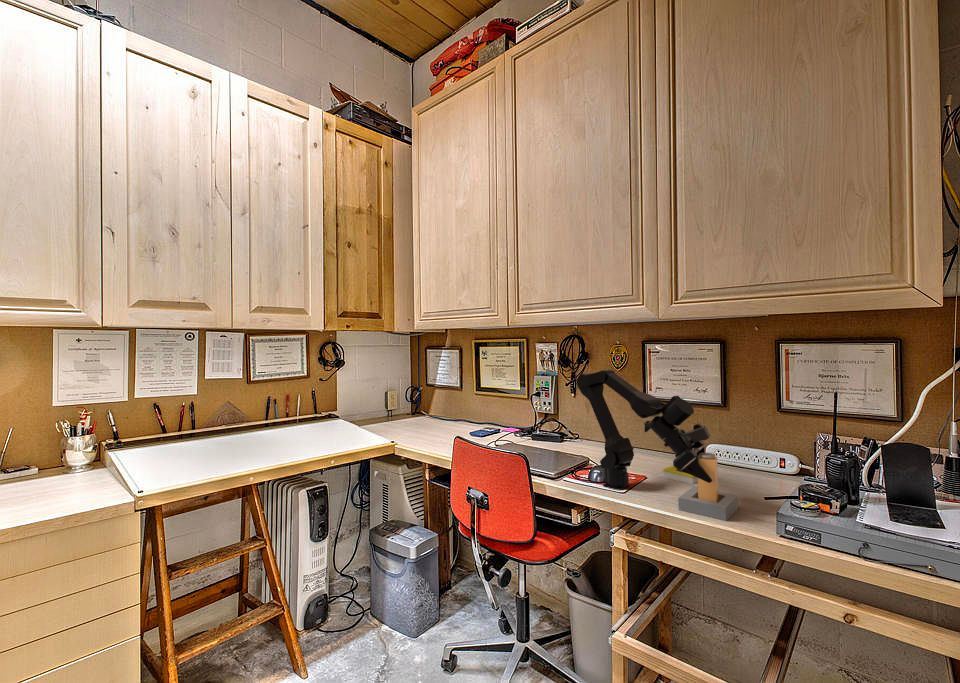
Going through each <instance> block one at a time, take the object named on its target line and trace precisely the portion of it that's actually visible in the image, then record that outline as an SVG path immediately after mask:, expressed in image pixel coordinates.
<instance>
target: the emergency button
mask: <svg viewBox="0 0 960 683" xmlns="http://www.w3.org/2000/svg"><path fill="white" fill-rule="evenodd" d="M683 468H684V467H683ZM681 470H682V469H680V470H679V471H678V470H677V469H676V468H675V467H674V466H673V465H671V466H667V467H664V468H663V469H662V472H661V473H658V474H657V476H658V477H661V478H664V479H668V478H669V479H670V480H672V479H673V480H674V481H678V482H681V483H685V484H689V485H694V486H698V478H697V477H695V476H693V475H690V474H688V473H685V472H682V471H681ZM669 479H668V480H669Z"/></svg>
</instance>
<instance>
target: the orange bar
mask: <svg viewBox="0 0 960 683" xmlns="http://www.w3.org/2000/svg"><path fill="white" fill-rule="evenodd" d="M699 463H700V464H701V466H702V467H703V468H704V470H705V471H706V472H707V474H708V475H709V476H710V478H711V479H712V482H711V483H708V482H706V481H704V480H702V479H699V478H698V485H697V487H698V499H702V500H707V501H712V502H717V503H718V502H719V501H718V492H719V475H718V474H719V473H718V472H719V471H718V457H717V456H716V454H715V453H712V452H705V453H699Z"/></svg>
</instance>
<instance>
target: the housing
mask: <svg viewBox="0 0 960 683" xmlns="http://www.w3.org/2000/svg"><path fill="white" fill-rule="evenodd" d="M677 498H678V499H677V501H678V511H681V512H685V513H690V514H694V515H697V516H698V515H699V516H702V515H703V517H706V516H707V517H708V518H711V517H712V518H711V519H715V518H716V520H719V521H724V522H726V521H727V520H728V519H729V518H730V517H732V515H733V514H734V513H735V512H736V511H737V510H738V509H739V495H738V494H733V493H728V492H723V491H718V501H719V502H718V503H717V502H712V501H707V500H702V499H698V486H697V487H696V486H692V487H691V488H689V489H688V490H686V491H685V492H684V493H683V494H681V495H679V496H678V497H677Z"/></svg>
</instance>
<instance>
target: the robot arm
mask: <svg viewBox="0 0 960 683" xmlns="http://www.w3.org/2000/svg"><path fill="white" fill-rule="evenodd" d="M604 385H606V386H608V387H609V388H611V390H613V391H614V392H615V393H617V394H618V395H619V396H620V397H622V399H624V400H626V401H627V402H628V403H629V405H630V408H631V410H632V411H633V412H634V413H635V414H636V415H637V416H638V417H639V418H641V419H647V418H652V419H650V420H646V421H645V422H644V423H643V424H644V432H645V433H647V432H649V431H650V430H652V431H653V433H655V435H656V436H657V437H659V439H660V440H661V441H662V442H663V443H664V444H663V445H664V447H666V448H669V449H670V450H671V451H672V452H673V453H675V455H674V456H675V458H674V459H673V461H672V463H673V464H672V466H674V467H675V468H676V469H677V470H678V471H679V470H680V469H682V470H681V471H682V472H685V473H688V474H690V475H693V476H695V477H697V478H699V479H702V480H704V481H706V482H708V483H711V482H712V479H711V478H710V476H709V475H708V474H707V472H706V471H705V470H704V468H703V467H702V466H701V464H700V463H699V453H706V448H707V447H706V442H705V441H706V440H709V439H710V437H711V434H710V433H709V432H710V431H709V429H708V427H707V426H706V425H702V424H701V423H700V422H698V423H696V424H694V425H693V429H690V430H689V431H686V430H685V429H682V428H679V426H680V425H681V426H682V424H683V423H684V422H685V421H686V420H688V419H689V418H690V417H691V416H692V415H694V414H695V413H694V412H695V410H694V407H693V405H692V404H691V403H689V402H688V401H687V400H685V399H683V398H681V397H680V396H679V395H673V396H672V397H671V398H670V399H669V401H668V402H667V403H666V402H665V403H664V402H662V401H661V400H660V398H657V397H655V396H653V395H652V394H649V393H645V392H642V390H641V391H640V390H638V388H636V387H635V386H634V385H632V384H631V383H629V382H628V381H626V379H624V378H622V377H621V376H620V375H618V374H617V373H616V372H615V371H614V370H612V369H602V370H600V371H597V372H590V373H588V372H587V373H581V374H579V375H578V376H577V379H576V386H577V387H578V389H579V391H580V393H581V395H583V396H584V397H585V398H586V399H588V400H587V401H589V403H590V406H591V408H592V411H593V413H594V416H595V418H596V420H597V423H598V424H599V427H600V430H601V432H602V435H603V437H604V440H605V441H604V452H605V455H604V456H603V457H602V458H601V460H599V463H600V467H601V468H602V469H604V478H605V479H604V482H605V483H602V486H603V487H606V488H610V489H611V488H612V489H615V490H623V489H625V488H628V486H629V487H630V485H631V484H630V483H629V480H630V479H629V472H628V467H630V466H631V464H632V461H633V459H634V456H635V454H634V453H635V452H634V450H635V448H634V447H633V445H632V444H631V440H630V439H629V437H623V436H622V435H621V434H620V431H619V429H618V427H617V425H616V422H615V420H614V417H613V415H612V413H611V411H610V408H609V405H608V404H607V401H606V400H605V397H604V389H605V388H604V387H605V386H604ZM661 414H662V415H661ZM660 415H661V416H660ZM683 467H684V468H683Z"/></svg>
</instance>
